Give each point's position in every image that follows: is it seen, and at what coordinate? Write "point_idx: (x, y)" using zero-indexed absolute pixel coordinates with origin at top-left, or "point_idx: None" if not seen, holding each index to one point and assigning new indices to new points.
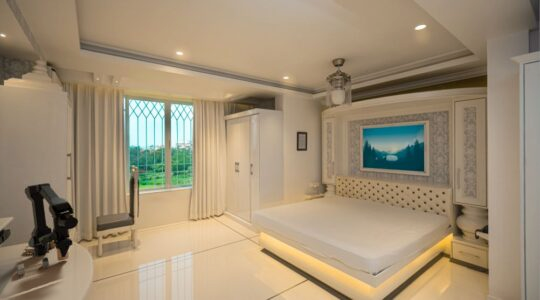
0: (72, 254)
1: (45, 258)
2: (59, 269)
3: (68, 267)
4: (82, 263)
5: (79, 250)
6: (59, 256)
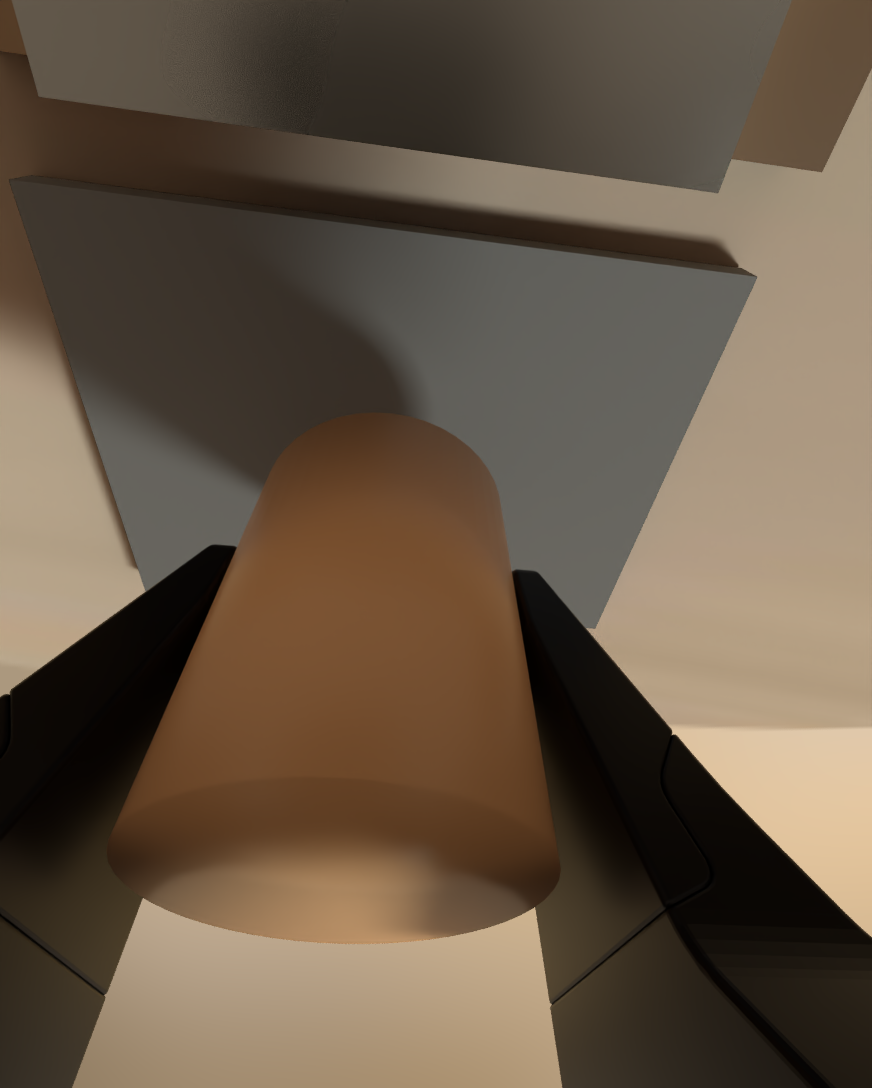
0: (686, 627)
1: (593, 57)
2: (41, 312)
3: (45, 460)
4: (94, 623)
5: (733, 703)
6: (256, 520)
